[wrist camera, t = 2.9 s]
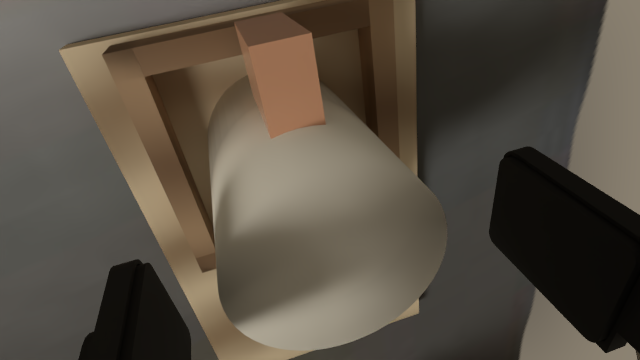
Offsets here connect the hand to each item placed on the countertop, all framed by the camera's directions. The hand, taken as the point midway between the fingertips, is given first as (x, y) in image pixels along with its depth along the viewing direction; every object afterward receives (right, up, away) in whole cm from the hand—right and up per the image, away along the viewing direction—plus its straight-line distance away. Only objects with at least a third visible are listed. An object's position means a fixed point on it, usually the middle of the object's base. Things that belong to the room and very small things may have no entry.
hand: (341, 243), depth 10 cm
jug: (-3, +5, +7) cm, 9 cm away
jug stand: (-2, 0, +11) cm, 12 cm away
